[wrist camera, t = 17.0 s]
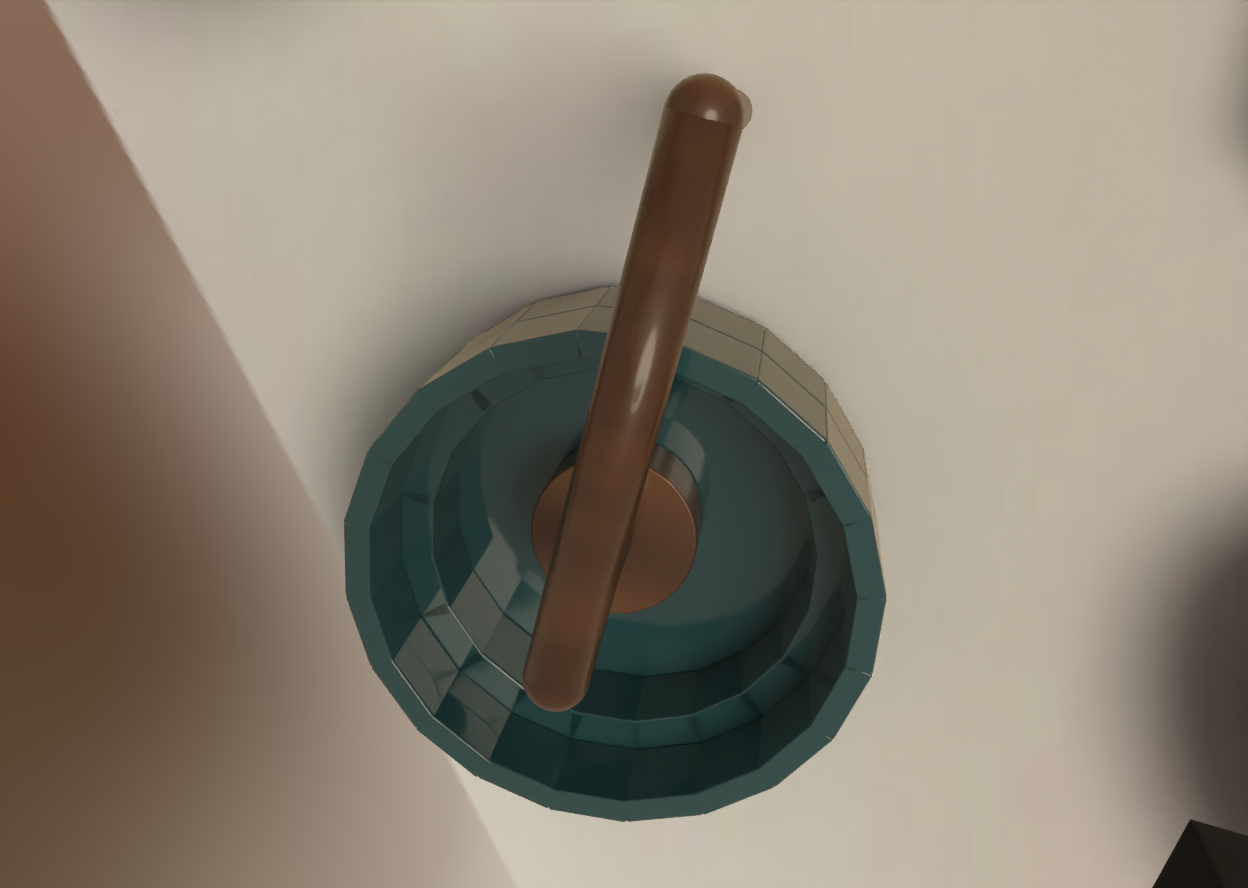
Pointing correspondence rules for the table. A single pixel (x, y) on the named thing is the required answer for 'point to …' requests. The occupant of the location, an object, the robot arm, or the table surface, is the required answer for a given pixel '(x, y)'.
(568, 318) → the mixing bowl
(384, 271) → the table surface
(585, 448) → the bent wooden rod
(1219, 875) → the robot arm
